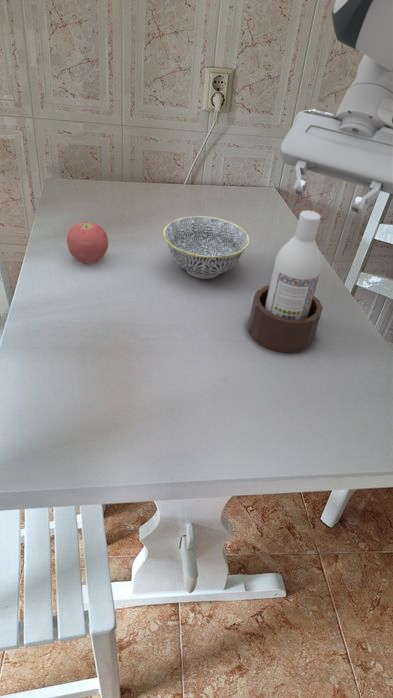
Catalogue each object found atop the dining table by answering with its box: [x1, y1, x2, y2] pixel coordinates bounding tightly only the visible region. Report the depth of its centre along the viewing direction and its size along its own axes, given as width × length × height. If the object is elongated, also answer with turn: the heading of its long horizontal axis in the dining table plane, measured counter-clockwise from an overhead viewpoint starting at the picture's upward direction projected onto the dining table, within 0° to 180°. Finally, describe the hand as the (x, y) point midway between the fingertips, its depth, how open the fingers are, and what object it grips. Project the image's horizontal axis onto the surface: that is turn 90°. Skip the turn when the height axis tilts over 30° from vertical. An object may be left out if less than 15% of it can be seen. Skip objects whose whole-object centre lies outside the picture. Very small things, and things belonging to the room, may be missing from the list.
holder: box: [248, 284, 324, 354], centre depth 79 cm, size 11×11×6 cm
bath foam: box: [265, 210, 322, 320], centre depth 74 cm, size 7×7×20 cm
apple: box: [66, 220, 109, 265], centre depth 91 cm, size 7×7×8 cm
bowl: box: [163, 215, 250, 280], centre depth 92 cm, size 16×16×8 cm
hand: (326, 201), depth 74 cm, fingers open, 8 cm apart
